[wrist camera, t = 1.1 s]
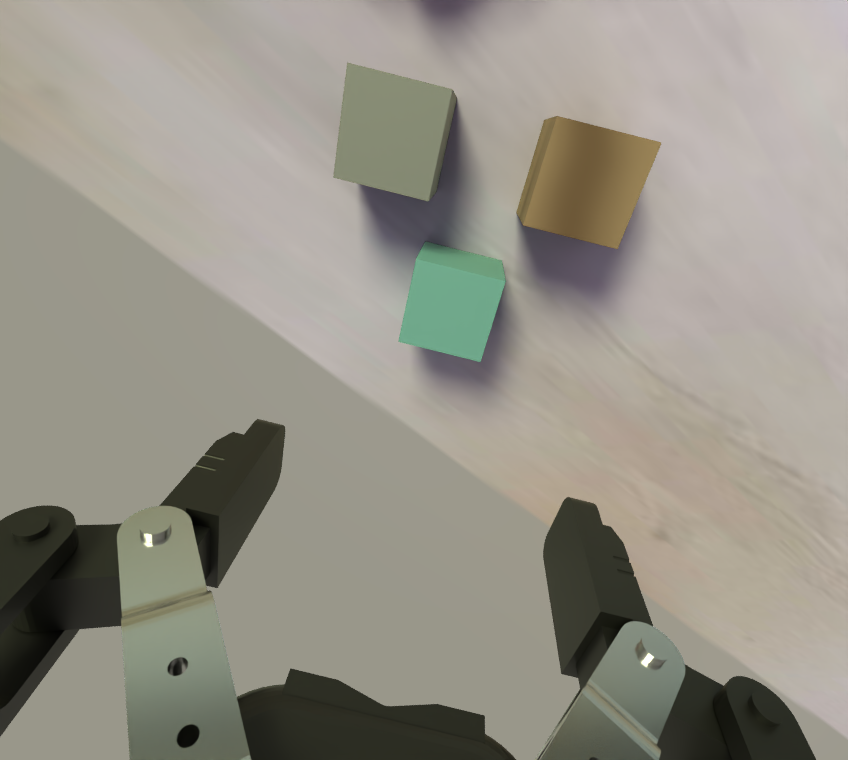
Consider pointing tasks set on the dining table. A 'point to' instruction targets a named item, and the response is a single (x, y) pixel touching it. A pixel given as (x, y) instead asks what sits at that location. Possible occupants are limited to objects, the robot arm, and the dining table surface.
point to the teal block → (452, 301)
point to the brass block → (585, 181)
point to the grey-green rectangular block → (393, 132)
